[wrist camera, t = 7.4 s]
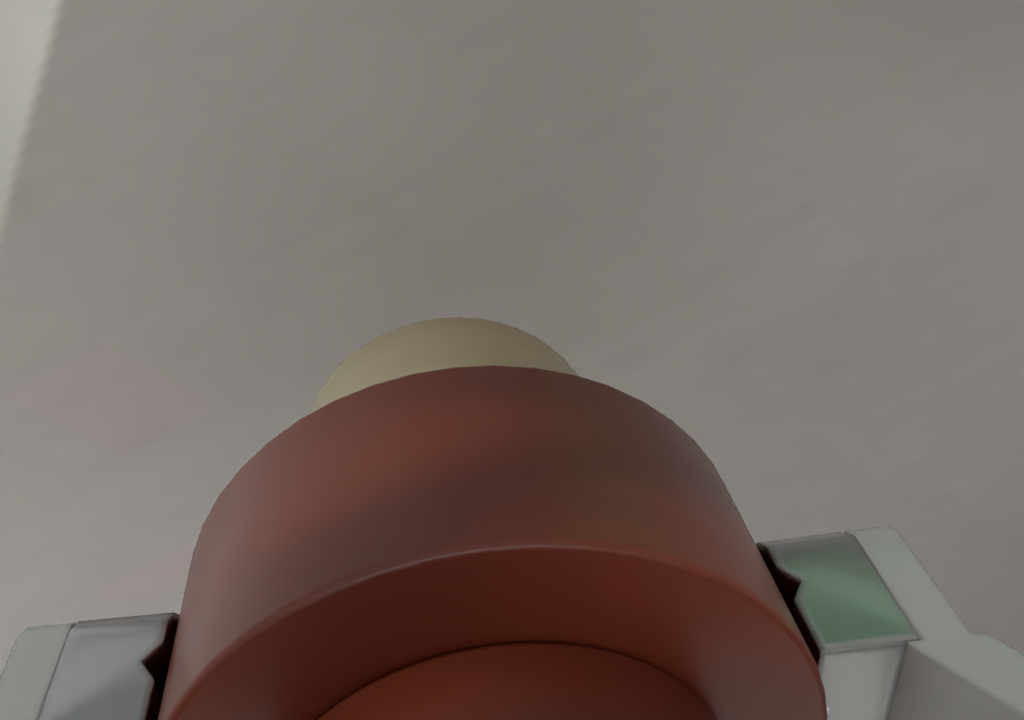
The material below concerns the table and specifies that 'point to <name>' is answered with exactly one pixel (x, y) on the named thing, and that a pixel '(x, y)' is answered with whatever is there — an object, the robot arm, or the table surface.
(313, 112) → the table surface
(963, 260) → the table surface
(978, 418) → the table surface
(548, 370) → the toy mushroom
